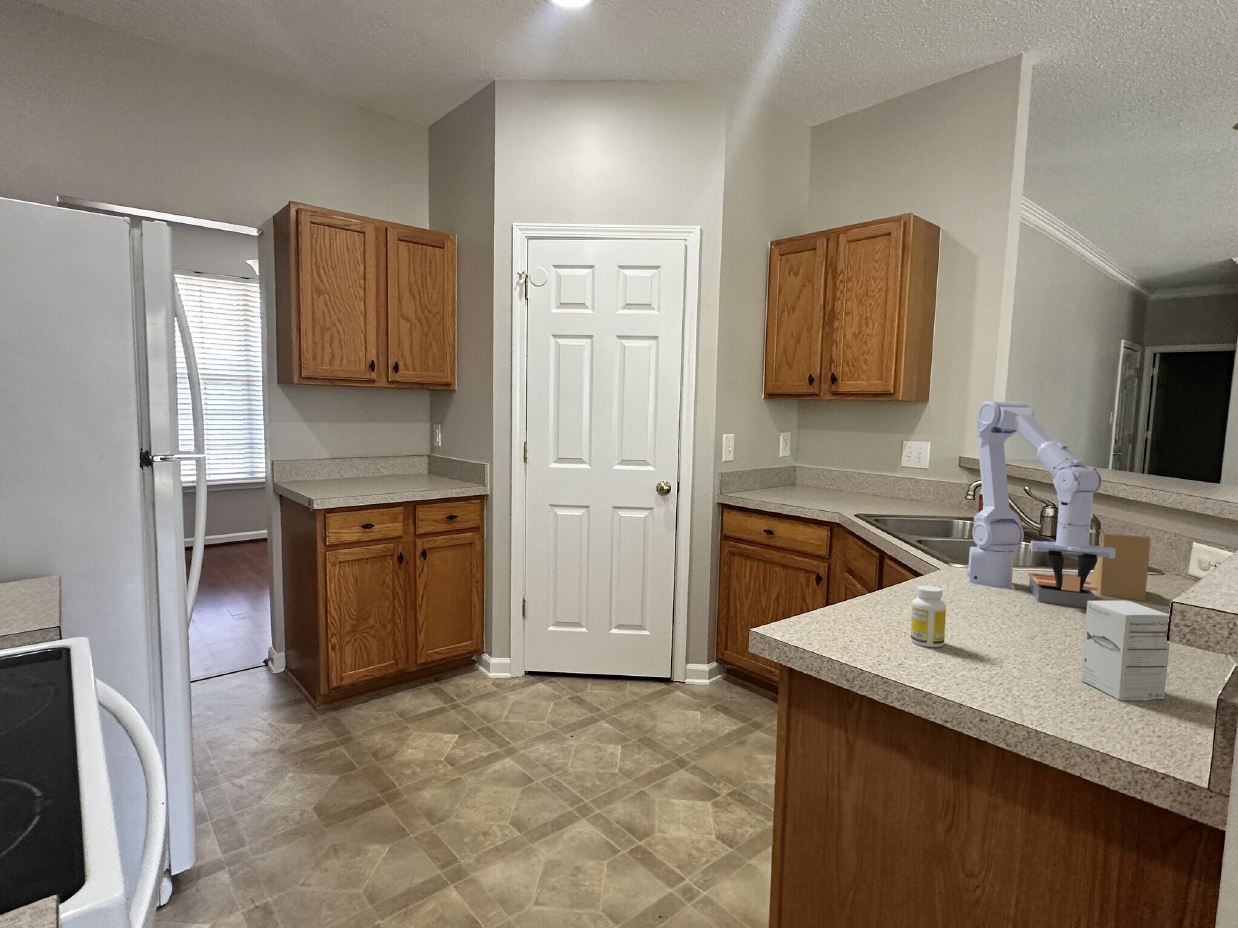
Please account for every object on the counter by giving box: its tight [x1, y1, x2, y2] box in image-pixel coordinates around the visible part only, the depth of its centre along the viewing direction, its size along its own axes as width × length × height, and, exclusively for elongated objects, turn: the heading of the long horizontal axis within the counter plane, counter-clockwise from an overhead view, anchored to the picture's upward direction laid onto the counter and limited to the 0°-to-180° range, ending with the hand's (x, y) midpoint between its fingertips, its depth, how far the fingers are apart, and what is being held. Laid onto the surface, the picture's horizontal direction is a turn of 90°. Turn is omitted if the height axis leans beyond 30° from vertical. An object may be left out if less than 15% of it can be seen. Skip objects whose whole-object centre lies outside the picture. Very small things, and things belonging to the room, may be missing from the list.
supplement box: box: [1080, 600, 1171, 701], centre depth 98 cm, size 7×7×13 cm
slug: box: [1042, 585, 1054, 589], centre depth 150 cm, size 2×2×2 cm
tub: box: [1028, 577, 1095, 609], centre depth 147 cm, size 10×13×4 cm
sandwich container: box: [1089, 533, 1152, 601], centre depth 155 cm, size 9×15×15 cm, turn 153°
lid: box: [1027, 572, 1097, 592], centre depth 145 cm, size 11×18×3 cm, turn 155°
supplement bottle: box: [910, 585, 947, 648], centre depth 117 cm, size 5×5×10 cm
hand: (1068, 588), depth 139 cm, fingers closed on lid, 3 cm apart
